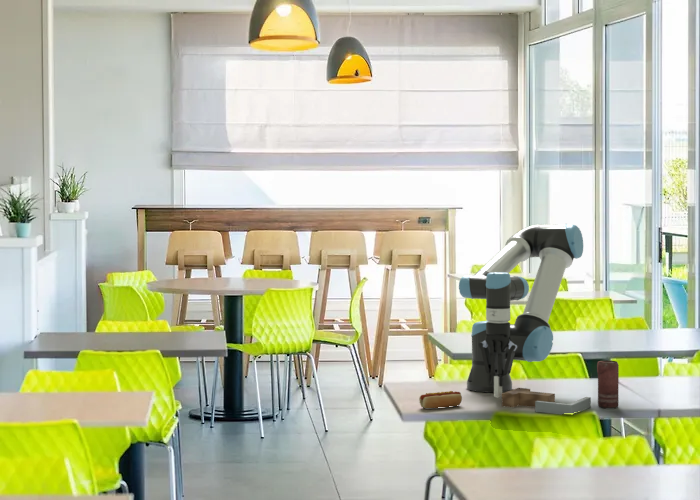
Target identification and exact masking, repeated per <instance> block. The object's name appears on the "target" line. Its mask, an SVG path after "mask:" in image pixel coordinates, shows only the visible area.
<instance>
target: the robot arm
mask: <svg viewBox="0 0 700 500" xmlns="http://www.w3.org/2000/svg"><path fill="white" fill-rule="evenodd" d="M583 252H584V238H583V233H582V231H581V229H580V228H579V227H578V225H575V224H568V223H565V224H551V223H549V224H546V223H545V224H544V223H543V224H542V223H541V224H540V223H538V224H537V223H536V224H532V225H528V226H527V227H524V228H522V229H521V230H519V231H517V232H515V233H514V234H513V235H512V236H511V237H509V238H508V239H507V240H506V241H505V245H504V247H502V249H500V251H498V252H497V253H496V254H495V255H494V256H492V258H490V259H489V261H488V262H486V263H485V264H484V265H483V266H482V267H481V268H480V269H479V270H478V271H477V272H476V273H474V274H472V275H471V274H469V275H468V274H467V275H463V276H462V277H461V278H460V280H459V282H458V290H459V294H460V296H461V297H463V299H464V298H465V299H466V298H467V299H472V300H475V299H476V300H485V301H486V303H485V304H486V305H485V310H486V311H485V320H482V321H476V322H474V323H473V324H472V327H471V368H470V370H469V375H468V378H467V380H466V389H467V390H468V391H469V390H470V391H474V392H477V393H478V392H479V393H493V397H494V398H500V397H501V398H502V393H505V392H508V391H510V390H513V381H512V378H511V375H510V374H511V371H512V367H513V363H514V361H515V360H516V361H523V362H526V361H527V362H529V363H531V362H542V361H544V360H546V359H547V358H548V356H550V353H551V351H552V348H553V345H554V343H553V341H554V332H553V331H552V329H551V325H550V324H549V319H550V318H551V317H550V316H551V313H552V310H553V308H554V305H555V301H556V298H557V296H558V292H559V289H560V286H561V283H562V280H563V277H564V275H565V271H566V269H568V268H570V267H571V266H572V264H573V261H574V259H580V258H581V257H582V256H583ZM530 258H539V259H540V263H539V267H538V269H537V272H536V274H535V278H534V281H533V283H532V287H531V289H530V286H529V282H528V281H527V280H526V278H525V277H522V276H517V275H513V276H511V275H510V272H511V271H512V270H514V269H515V268H516V267H517V266H518V265H519V264H520V263H523V262H525V261H527V260H528V259H530ZM529 289H530V290H529ZM529 291H530V292H529ZM528 294H529V295H528ZM526 296H528V298H527V300H526V301H527V302H526V304H525V307H524V309H523V311H522V312H523V313H521V314H519V315H517V317H516V319H515V321H514V323H512V324H511V323H510V321H511V301H520V300H522V299H524V298H525V297H526Z"/></svg>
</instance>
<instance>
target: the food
mask: <svg viewBox="0 0 700 500" xmlns="http://www.w3.org/2000/svg"><path fill="white" fill-rule="evenodd" d="M462 396H463V395H462V393H461V392H460V391H454V390H449V391H441V392H440V391H438V392H437V391H436V392H429V393H427V392H426V393H425V394H421V395H420V396H419V400H418V401H419V405H420V407H421V408H422V407H424V408H438V407H449V406H456V407H458V406H457V405H459V406H460V405H461V403H462V400H463V397H462ZM424 408H423V409H424Z"/></svg>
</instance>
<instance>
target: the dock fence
mask: <svg viewBox="0 0 700 500" xmlns="http://www.w3.org/2000/svg"><path fill="white" fill-rule="evenodd" d="M591 400H592V397H591V396H586V397H583V398H580V399H577V400H575V401H573V402H570V403H563V402H562V403H561V402H555V403H554V402H544V401H535V407H534V409H535V412H536V413H546V414H554V415H555V414H556V415H562V414H564V413H574V412H578V411H581V412H583V411H585V410H587V409H590V408H591V407H592V406H591V405H592V402H591ZM589 407H590V408H589ZM582 410H583V411H582Z"/></svg>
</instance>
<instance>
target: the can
mask: <svg viewBox="0 0 700 500" xmlns="http://www.w3.org/2000/svg"><path fill="white" fill-rule="evenodd" d="M619 369H620V368H619V363H618V361H616V360H609V359H608V360H599V361H597V364H596V372H597V406H598V408H600V407H601V409H606V408H614V409H617V408H618V407H619V381H620V380H619V371H620V370H619ZM616 407H617V408H616Z"/></svg>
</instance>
